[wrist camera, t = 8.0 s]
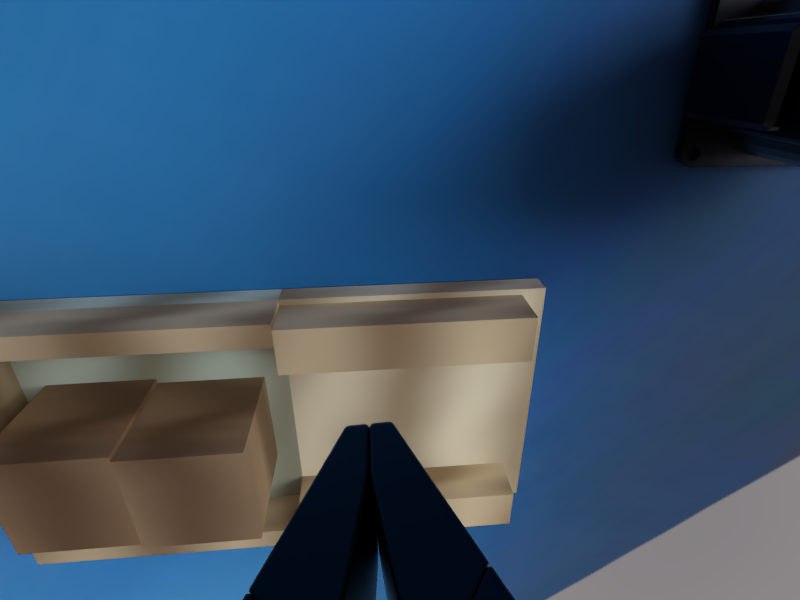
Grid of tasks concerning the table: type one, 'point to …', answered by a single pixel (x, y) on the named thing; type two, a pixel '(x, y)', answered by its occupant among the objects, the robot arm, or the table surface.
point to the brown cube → (199, 462)
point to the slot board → (312, 375)
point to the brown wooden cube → (68, 467)
